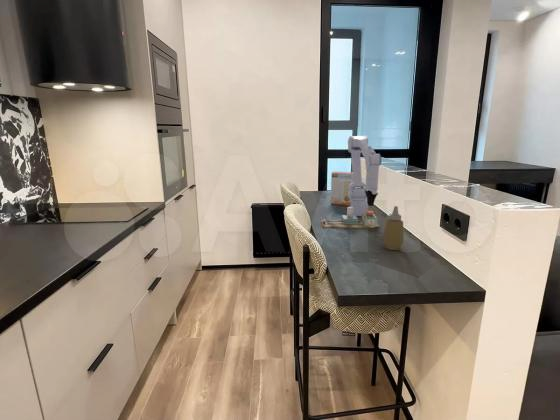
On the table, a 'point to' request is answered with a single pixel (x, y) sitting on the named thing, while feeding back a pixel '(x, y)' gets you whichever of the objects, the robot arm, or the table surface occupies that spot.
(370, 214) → the button
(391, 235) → the squeeze bottle
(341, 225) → the rail track
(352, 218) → the carriage
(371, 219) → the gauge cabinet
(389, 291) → the table surface
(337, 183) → the cracker box
